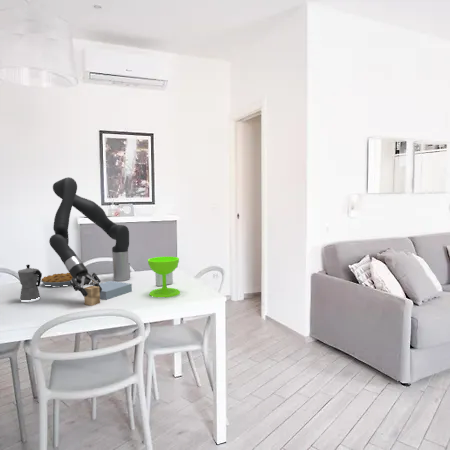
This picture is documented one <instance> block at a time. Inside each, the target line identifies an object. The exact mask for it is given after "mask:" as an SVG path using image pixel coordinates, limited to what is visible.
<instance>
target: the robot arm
mask: <svg viewBox="0 0 450 450" xmlns="http://www.w3.org/2000/svg"><path fill="white" fill-rule="evenodd" d="M52 190H53V192H54V194H55V195H56V196H57V197H58V198H60V199H61V203H60V204H59V206H58V208H57V210H56V212H55V215H54V220H53V221H54V222H53V225H52V226H53V227H52V228H53V232H54V234H52V235H51V236H50V237H49V241H48V242H49V245H50V247H51V248H52V249H53V251H54V252H55V253H56V254H57V256H58V257H59V258H60V260H61V261H62V264H63V265H64V266H65V268H66V270H67V271H68V273H70V274H71V276H72V277H73V278H72V279H71V281H70V283H71V285H70V286H72V288H73V290H74V291H75V292H78V291H79V292H80V293H81V295H82V296H83V297H86V296H87V295H88V293H87V291H86V290H85V289H84V288H85V287H84V286H86V285H87V286H88V285H90V286H97V287H99V290H100V292H101V291H102V288H101V286H100V285H99V284H101V283H102V280H101V279H100V277H99V276H98V275H97V274H96V273H95V272H93V273H91V274H90V273H89V270H88V268H87V267H86V265H85V264H84V263H83V262H82V260H81V259H80V258H79V257H78V255H77V254H76V252H75V251H74V250H73V249H72V248H71V246H70V245H69V225H70V216H71V211H72V209H73V208H74V209H76V210H78V212H80V213H81V214H82V215H84V216H85V217H86V218H87V219H88V220H89V221H91V222H93V223H94V224H95V225H96V226H98V227H99V228H100V229H101V230H102V231H103V232H104V233H105V234H106V235H107V236H108V237H109V238H111V239H112V240H115V244H114V246H113V247H112V248H111V251H112V255H111V256H112V271H113V273H112V275H113V281H114V282H124V281H128V280H129V279H131V265H130V264H131V263H130V262H129V247H130V231H129V228H128V227H127V226H126V225H124V224H116V223H115V222H113V221H112V220H111V219H109V218H108V216H107V214H106V211H104V209H103V208H102V207H101V206H100V205H98V204H97V203H96V202H95V201H93V200H91V199H88V198H85V197H82V196H79V195H78V194H77V190H78V184H77V182H76V180H75V179H74V178H72V177H65V178H62V179H60V180H58V181H55V182H54V183H53V184H52ZM72 207H73V208H72Z"/></svg>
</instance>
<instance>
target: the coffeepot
mask: <svg viewBox="0 0 450 450" xmlns="http://www.w3.org/2000/svg"><path fill="white" fill-rule="evenodd" d="M25 266H26V268H23V269H19V270H18V271H17V274H18V278H19V283H20V285H21V289H20V299H21V300H31V299H36V298H38V297H40V298H41V295H40V291H39V287H40V286H41V283H42V282H41V280H42V278H43V277H42V275H43V273H42V272H41V271H40V270H39V268H38V269H37V268H32V267H31V264H26V265H25ZM20 299H19V300H20Z"/></svg>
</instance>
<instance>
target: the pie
mask: <svg viewBox="0 0 450 450" xmlns="http://www.w3.org/2000/svg"><path fill="white" fill-rule="evenodd" d="M72 278H73V277H72V276H71V274H70V273H69V272H66V273H54V274H52V275H49V274H48V275H47V276H43V277H41V282H40V283H42V284H43V285H44V284H45V285H51V286H63V285H70V286H72V285H71V283H70V281H71V279H72Z"/></svg>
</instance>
